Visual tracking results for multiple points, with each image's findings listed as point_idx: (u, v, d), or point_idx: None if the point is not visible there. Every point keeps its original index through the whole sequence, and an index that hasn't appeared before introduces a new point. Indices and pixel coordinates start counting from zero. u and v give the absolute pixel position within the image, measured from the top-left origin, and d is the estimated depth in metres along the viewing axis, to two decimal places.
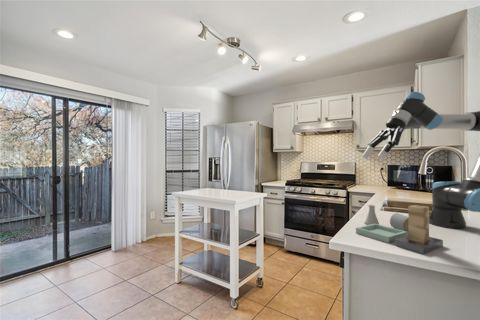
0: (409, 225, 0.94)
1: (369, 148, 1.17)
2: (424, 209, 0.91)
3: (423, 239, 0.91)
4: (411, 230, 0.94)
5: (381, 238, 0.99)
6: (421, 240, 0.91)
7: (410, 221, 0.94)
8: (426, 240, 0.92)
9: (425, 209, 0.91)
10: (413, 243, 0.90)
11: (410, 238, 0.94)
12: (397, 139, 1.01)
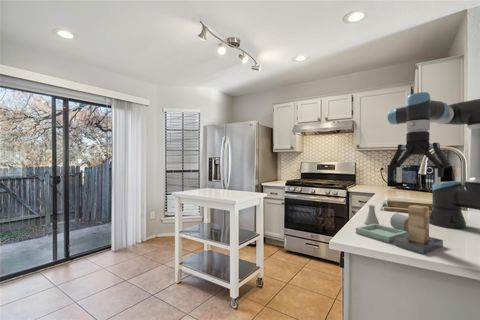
0: (409, 225, 0.94)
1: (399, 170, 1.00)
2: (424, 209, 0.91)
3: (423, 239, 0.91)
4: (411, 230, 0.94)
5: (381, 238, 0.99)
6: (421, 240, 0.91)
7: (410, 221, 0.94)
8: (426, 240, 0.92)
9: (425, 209, 0.91)
10: (413, 243, 0.90)
11: (410, 238, 0.94)
12: (445, 159, 0.86)
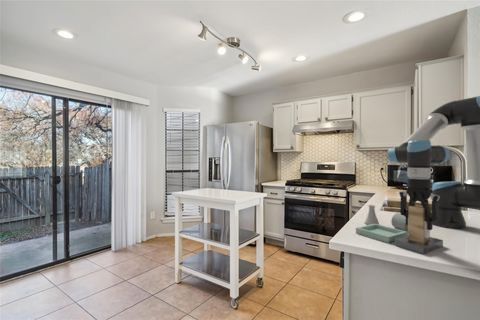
0: (409, 225, 0.94)
1: None
2: (424, 209, 0.91)
3: (423, 239, 0.91)
4: (411, 230, 0.94)
5: (381, 238, 0.99)
6: (421, 240, 0.91)
7: (410, 221, 0.94)
8: (426, 240, 0.92)
9: None
10: (413, 243, 0.90)
11: (410, 238, 0.94)
12: (437, 214, 0.88)
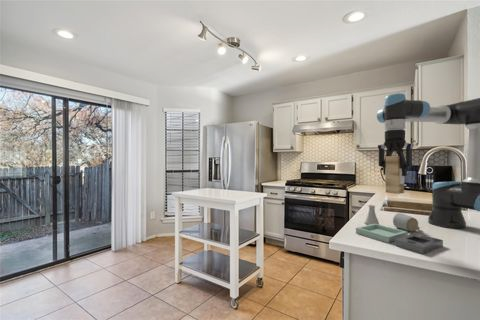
0: (386, 173, 1.02)
1: None
2: (399, 157, 0.99)
3: (398, 185, 0.98)
4: (387, 178, 1.02)
5: (381, 238, 0.99)
6: (396, 186, 0.99)
7: (387, 170, 1.02)
8: (401, 186, 1.00)
9: None
10: (413, 243, 0.90)
11: (387, 186, 1.02)
12: (410, 161, 0.96)
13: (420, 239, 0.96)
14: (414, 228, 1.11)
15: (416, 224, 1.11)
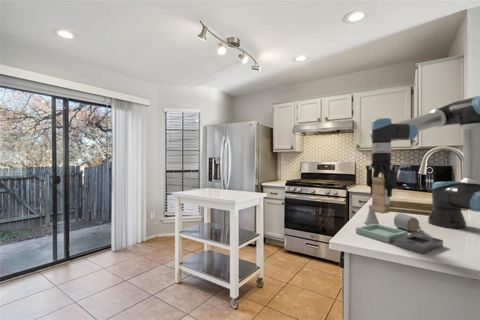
0: (373, 193, 1.07)
1: None
2: (384, 179, 1.04)
3: (383, 205, 1.04)
4: (374, 198, 1.07)
5: (381, 238, 0.99)
6: (382, 206, 1.04)
7: (373, 190, 1.07)
8: (386, 206, 1.05)
9: None
10: (413, 243, 0.90)
11: (373, 205, 1.07)
12: (395, 182, 1.02)
13: (420, 239, 0.96)
14: (415, 228, 1.11)
15: (417, 224, 1.11)
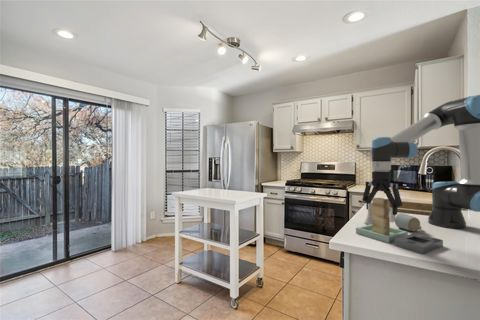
0: (373, 215, 1.08)
1: (370, 206, 1.11)
2: (384, 201, 1.04)
3: (383, 227, 1.04)
4: (374, 219, 1.07)
5: (381, 238, 0.99)
6: (382, 228, 1.04)
7: (373, 212, 1.07)
8: (387, 228, 1.05)
9: (386, 200, 1.04)
10: (413, 243, 0.90)
11: (374, 226, 1.07)
12: (399, 200, 1.00)
13: (420, 239, 0.96)
14: (416, 228, 1.11)
15: (418, 224, 1.12)
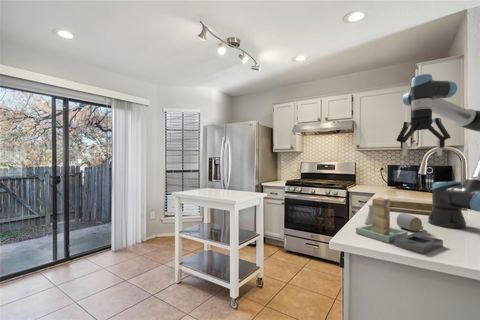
0: (373, 215, 1.08)
1: (404, 145, 1.12)
2: (385, 201, 1.04)
3: (383, 227, 1.04)
4: (374, 219, 1.07)
5: (381, 238, 0.99)
6: (382, 228, 1.04)
7: (373, 212, 1.07)
8: (387, 228, 1.05)
9: (386, 200, 1.04)
10: (413, 243, 0.90)
11: (374, 226, 1.07)
12: (446, 132, 0.99)
13: (420, 239, 0.96)
14: (418, 228, 1.12)
15: (420, 224, 1.12)
